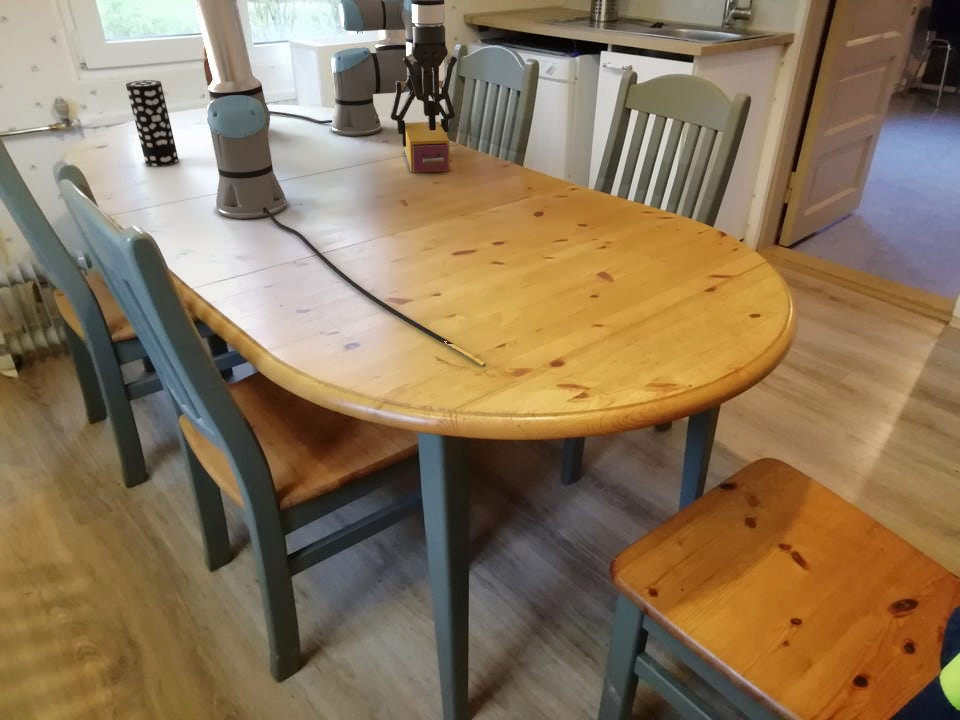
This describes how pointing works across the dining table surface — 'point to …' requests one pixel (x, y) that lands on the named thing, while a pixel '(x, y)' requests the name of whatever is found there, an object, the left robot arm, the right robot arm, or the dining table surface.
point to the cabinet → (423, 140)
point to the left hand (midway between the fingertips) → (432, 128)
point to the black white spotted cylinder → (152, 122)
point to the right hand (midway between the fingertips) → (423, 144)
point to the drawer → (430, 157)
